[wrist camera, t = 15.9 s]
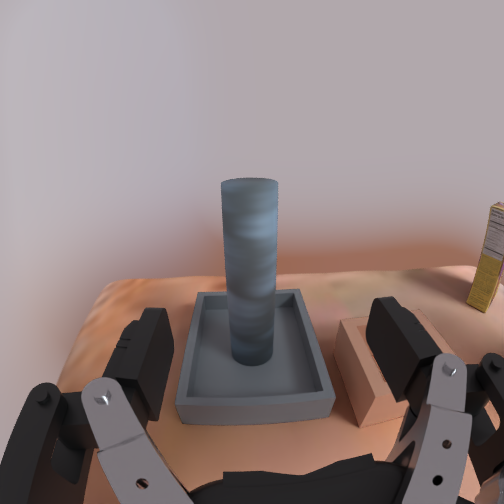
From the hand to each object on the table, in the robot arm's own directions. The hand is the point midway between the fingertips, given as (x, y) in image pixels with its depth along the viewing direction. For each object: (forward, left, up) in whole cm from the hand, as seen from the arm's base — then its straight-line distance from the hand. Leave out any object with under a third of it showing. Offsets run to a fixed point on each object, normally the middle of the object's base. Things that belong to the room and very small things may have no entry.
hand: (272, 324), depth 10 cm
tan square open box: (-12, -7, -14) cm, 20 cm away
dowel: (+1, -12, -13) cm, 17 cm away
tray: (+1, -12, -14) cm, 18 cm away
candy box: (-36, -17, -14) cm, 42 cm away
